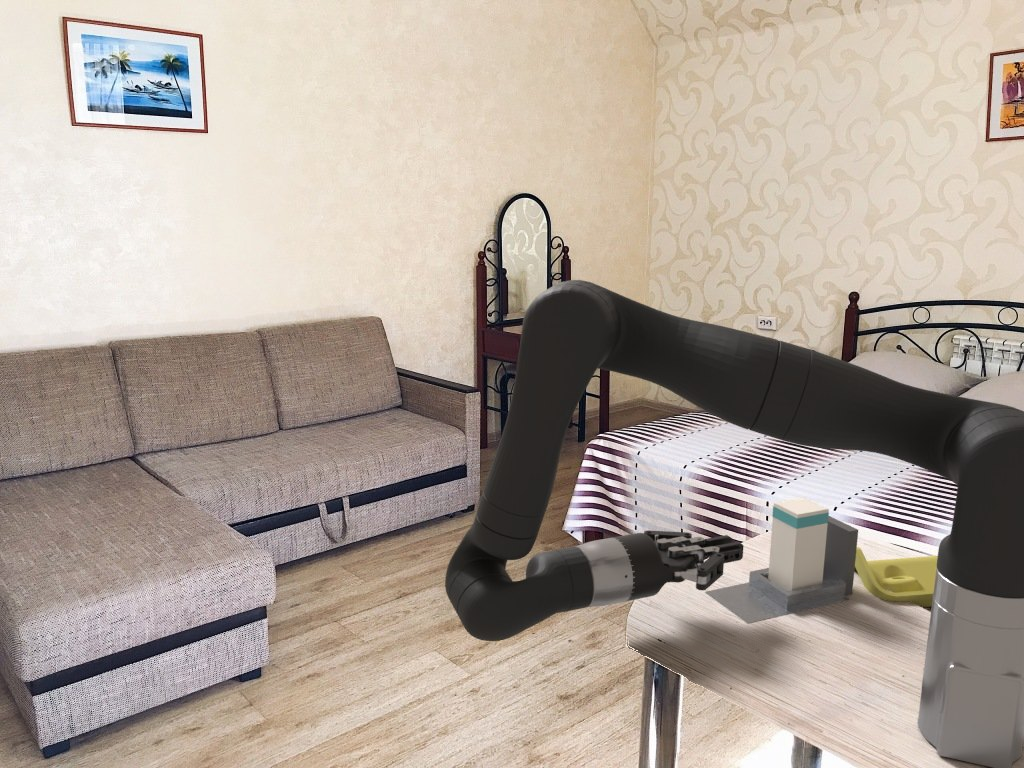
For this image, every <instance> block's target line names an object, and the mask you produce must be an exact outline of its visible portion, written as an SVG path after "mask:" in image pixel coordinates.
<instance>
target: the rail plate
mask: <svg viewBox="0 0 1024 768" xmlns="http://www.w3.org/2000/svg"><path fill="white" fill-rule="evenodd" d="M768 575H769V567H766V568H762V569H761V568H760V569H756V570H752V571H749V581H748V582H745V583H739V584H736V585H731V586H724V587H721V588H717V589H711V590H707V591H706V590H705V591H704V593H705V595H708V597H710V598H712V599H713V600H714V601H716V602H717V603H718V604H720V605H722V606H723V608H725V609H727V611H729V612H731V613H732V614H734V615H735V616H736V617H738V618H739V619H741V620H742V621H744V623H746V624H751V623H752V624H753V623H755V622H760V621H765V620H769V619H773V618H777V617H781V616H786V615H791V614H795V613H798V612H803V611H806V610H807V611H808V610H811V609H816V608H820V607H824V606H829V605H833V604H837V603H841V602H845V601H850V599H849V598H847V597H846V596H845V588H846V583H845V582H844V581H842V580H837V581H832V582H828V583H823V584H819V585H814V586H810V587H805V588H801V589H796V590H792V591H786V590H785V589H783V588H782V587H780V586H778V585H777V584H775V583H774V582H772V581H770V580H769V579H768Z"/></svg>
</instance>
